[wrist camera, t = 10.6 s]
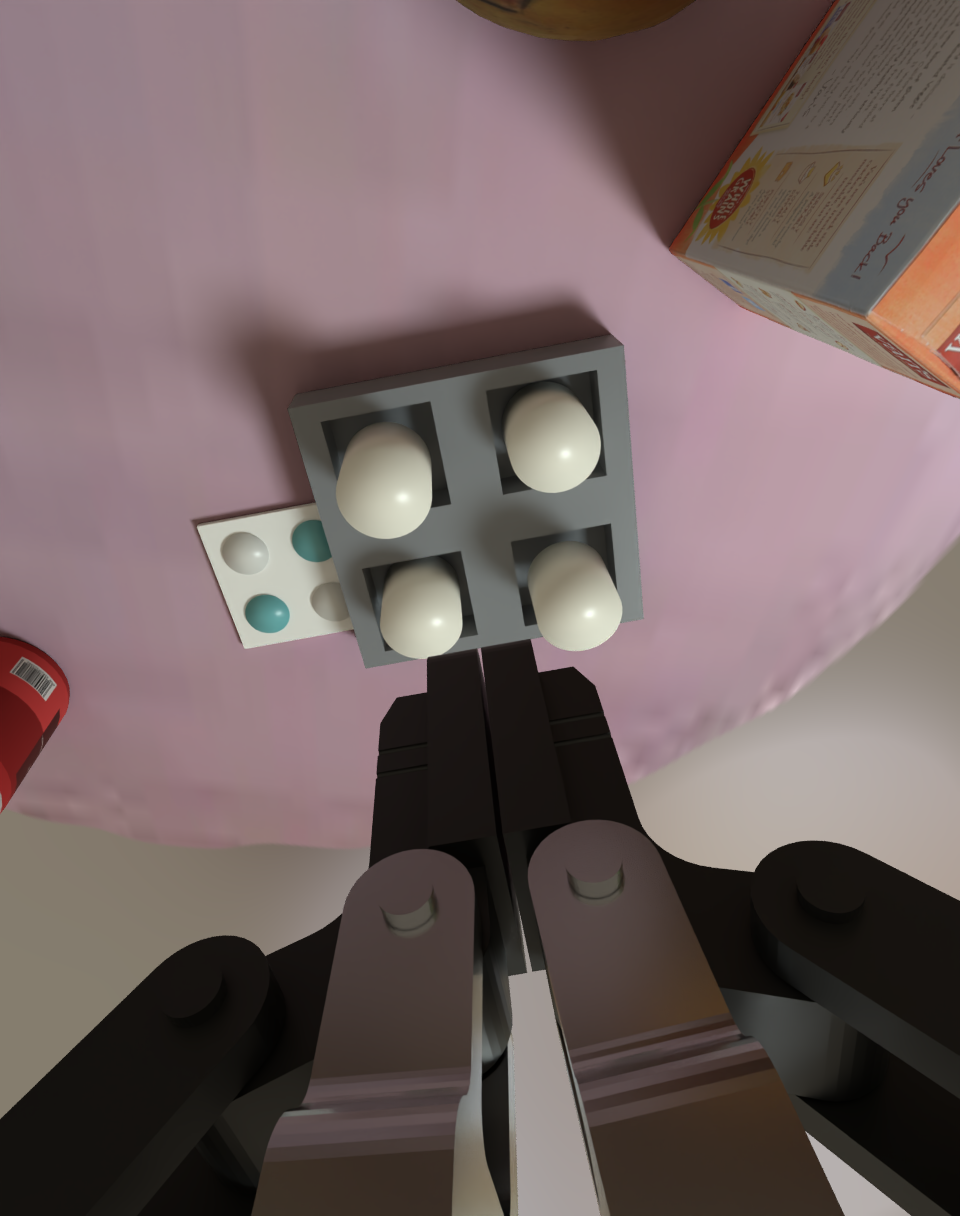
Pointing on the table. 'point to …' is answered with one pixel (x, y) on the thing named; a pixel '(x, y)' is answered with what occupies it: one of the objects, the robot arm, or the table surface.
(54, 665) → the canned food
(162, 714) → the table surface
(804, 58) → the cracker box
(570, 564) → the button
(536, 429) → the button
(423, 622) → the button
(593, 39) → the ceramic pitcher
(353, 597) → the board
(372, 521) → the button
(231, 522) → the card
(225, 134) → the table surface
